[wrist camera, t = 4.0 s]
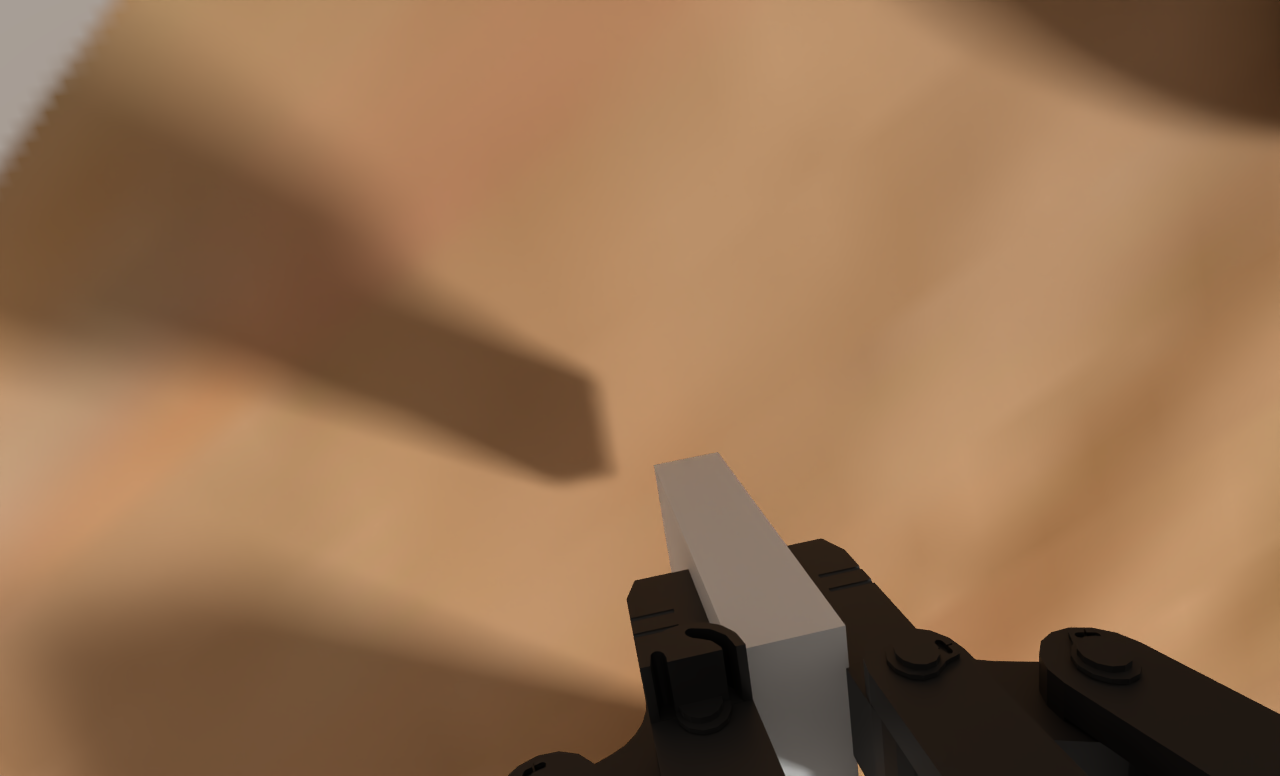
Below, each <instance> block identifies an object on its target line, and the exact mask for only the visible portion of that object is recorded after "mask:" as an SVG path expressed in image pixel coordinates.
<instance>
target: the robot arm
mask: <svg viewBox="0 0 1280 776" xmlns="http://www.w3.org/2000/svg"><path fill="white" fill-rule="evenodd" d="M654 469H655V475H656V481H657V488H658V494H659V500H660V506H661V512H662V518H663V524H664V530H665V536H666V542H667V548H668V554H669V560H670V566H671V572H672V573H668V574H664V575H659V576H654V577H650V578H645V579H640V580H636V581H634V584H633V586H632V588H631V591H630V593H629V595H628V597H627V604H628V609H629V614H630V620H631V625H632V630H633V636H634V641H635V646H636V652H637V657H638V662H639V668H640V673H641V678H642V683H643V689H644V694H645V699H646V713H645V717H644V720H643V723H642V725H641V726H640V728H639V730H638V731H637V733H636V735H635V736H634V737H633V738H632V739H631V740H630V741H629V742H628V743H627V744H626V745H625V746H624V747H622V748H621V749H619V750H618V751H616V752H615V753H613V754H612V755H610V756H609V757H607V758H605V759H603V760H601V761H600V762H598V763H596V764H594V763H592V762H591V761H589V760H587V759H586V758H584V757H582V756H581V755H579V754H575V753H567V752H560V751H559V752H554V753H549V754H544V755H539V756H537V757H535V758H533V759H531V760H529V761H527V762H525V763H523V764H521V765H519V766H518V767H517V768H516V769H515V770H513V771H512V772H511V773H510V774H509V775H508V776H858V765H857V762H858V764H859V766H860V768H861V769H862V771H863V773H864V775H865V776H1280V714H1278V713H1277V712H1275V711H1273V710H1271V709H1269V708H1267V707H1265V706H1263V705H1261V704H1259V703H1257V702H1255V701H1253V700H1251V699H1249V698H1247V697H1245V696H1244V695H1242V694H1240V693H1238V692H1236V691H1234V690H1232V689H1230V688H1228V687H1226V686H1224V685H1222V684H1220V683H1218V682H1216V681H1214V680H1212V679H1211V678H1209V677H1207V676H1205V675H1203V674H1201V673H1199V672H1197V671H1195V670H1193V669H1191V668H1189V667H1187V666H1185V665H1183V664H1181V663H1180V662H1178V661H1176V660H1174V659H1172V658H1170V657H1168V656H1166V655H1164V654H1162V653H1160V652H1158V651H1156V650H1154V649H1152V648H1150V647H1148V646H1147V645H1145V644H1143V643H1141V642H1138V641H1136V640H1133V639H1131V638H1128V637H1126V636H1123V635H1121V634H1118V633H1115V632H1110V631H1105V630H1100V629H1096V628H1065V629H1062V630H1058V631H1054V632H1051V633H1050V634H1049V635H1048V636H1047V637H1045V638H1044V639H1043V640H1042V641H1041V645H1040V652H1039V662H1014V661H986V660H976V659H974V658H973V657H972V656H971V655H970V654H969V653H968V652H967V651H966V650H965V649H964V648H963V647H961V646H960V645H958V644H957V643H956V642H954V641H953V640H952V639H950V638H948V637H946V636H943V635H941V634H938V633H935V632H933V631H930V630H923V629H916V628H915V627H914V626H913V625H912V624H911V622H910V621H909V620H908V619H907V618H906V617H905V616H904V615H903V614H902V613H901V611H900V610H899V609H898V608H897V607H896V606H895V605H894V604H893V603H892V602H891V600H890V599H889V598H888V597H887V596H886V595H885V594H884V593H883V592H882V591H881V589H880V588H879V587H878V586H877V585H876V584H875V583H872V581H871V578H870V577H869V576H868V575H867V574H866V573H865V572H864V571H863V570H862V569H860V568H859V565H858V564H857V563H856V562H855V561H854V560H853V559H852V557H851V556H850V555H849V554H848V553H847V552H846V551H845V550H844V549H842V548H840V547H838V546H836V545H834V544H832V543H830V542H828V541H826V540H823V539H817V540H812V541H808V542H803V543H798V544H794V545H789V546H787V545H786V544H785V543H784V541H783V540H782V539H781V537H780V536H779V535H778V533H777V532H776V530H775V529H774V528H773V526H772V525H771V524H770V522H769V521H768V520H767V518H766V517H765V515H764V514H763V513H762V511H761V510H760V509H759V507H758V506H757V505H756V503H755V502H754V501H753V499H752V498H751V496H750V495H749V494H748V492H747V491H746V490H745V488H744V487H743V486H742V484H741V483H740V482H739V480H738V479H737V477H736V476H735V475H734V473H733V472H732V471H731V469H730V468H729V467H728V465H727V464H726V462H725V461H724V460H723V458H722V457H721V456H720V454H719V453H718V452H717V453H712V454H707V455H702V456H697V457H692V458H687V459H682V460H677V461H672V462H667V463H662V464H657V465H654Z"/></svg>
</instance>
